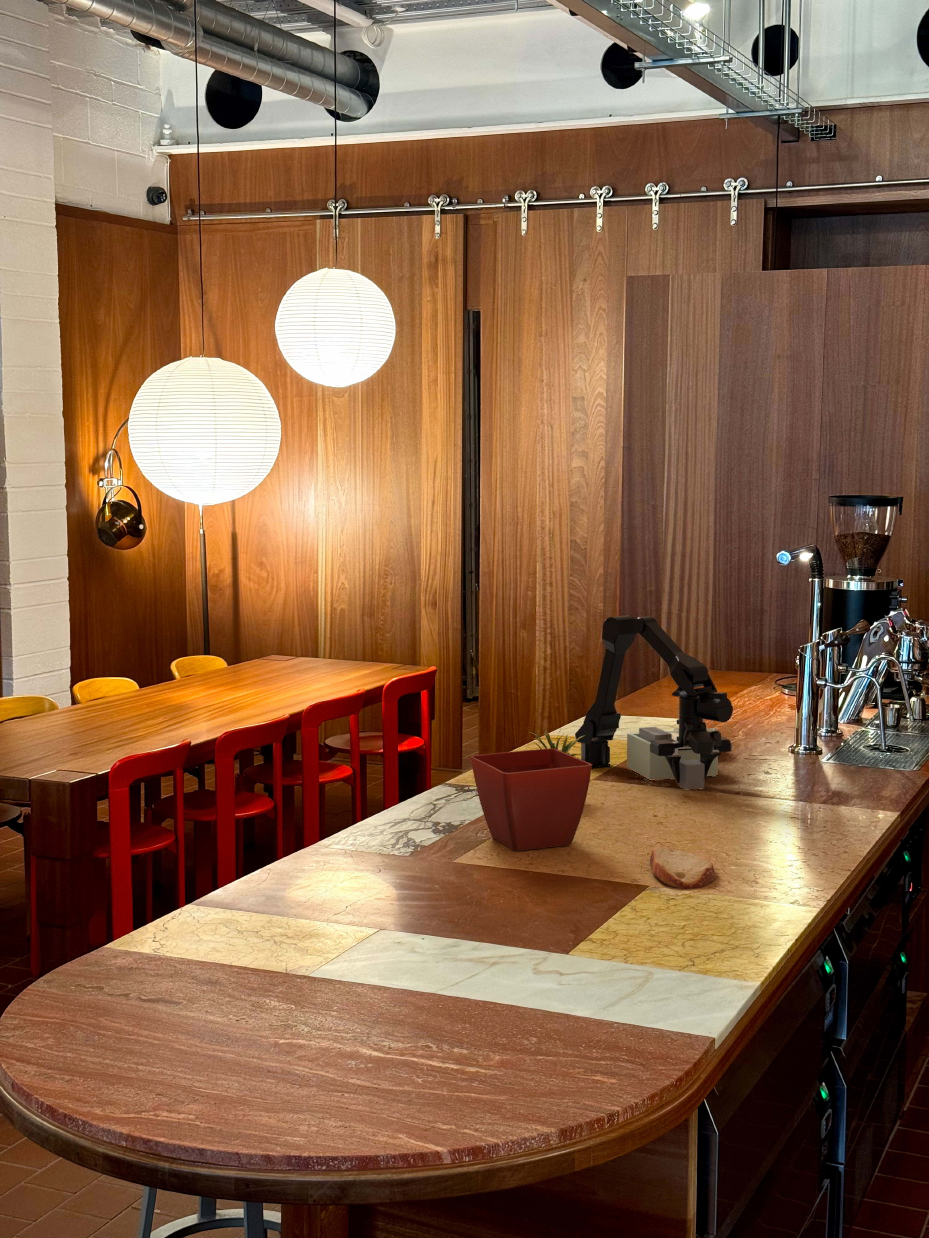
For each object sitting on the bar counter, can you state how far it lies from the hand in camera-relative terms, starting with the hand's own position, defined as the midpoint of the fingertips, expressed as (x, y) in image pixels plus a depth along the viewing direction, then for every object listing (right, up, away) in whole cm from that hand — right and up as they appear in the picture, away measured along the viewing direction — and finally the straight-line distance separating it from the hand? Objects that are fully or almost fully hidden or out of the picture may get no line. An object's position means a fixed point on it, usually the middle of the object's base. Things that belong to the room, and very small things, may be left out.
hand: (690, 781), depth 320 cm
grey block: (0, -1, 0) cm, 1 cm away
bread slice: (-14, -9, -68) cm, 70 cm away
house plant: (-34, -3, -10) cm, 35 cm away
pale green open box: (-2, 0, +16) cm, 16 cm away
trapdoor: (-1, +7, +16) cm, 17 cm away
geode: (+7, +3, +39) cm, 39 cm away
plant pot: (-40, -7, -46) cm, 62 cm away
